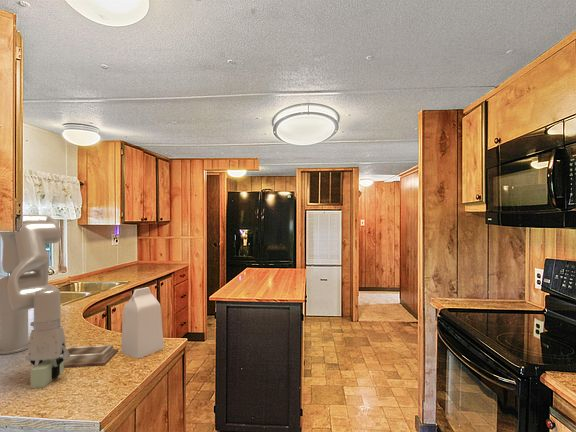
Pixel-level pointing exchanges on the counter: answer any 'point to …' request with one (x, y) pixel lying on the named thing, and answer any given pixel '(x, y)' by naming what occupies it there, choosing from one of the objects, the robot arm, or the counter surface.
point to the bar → (43, 373)
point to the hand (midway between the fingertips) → (48, 377)
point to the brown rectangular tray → (89, 356)
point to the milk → (142, 325)
